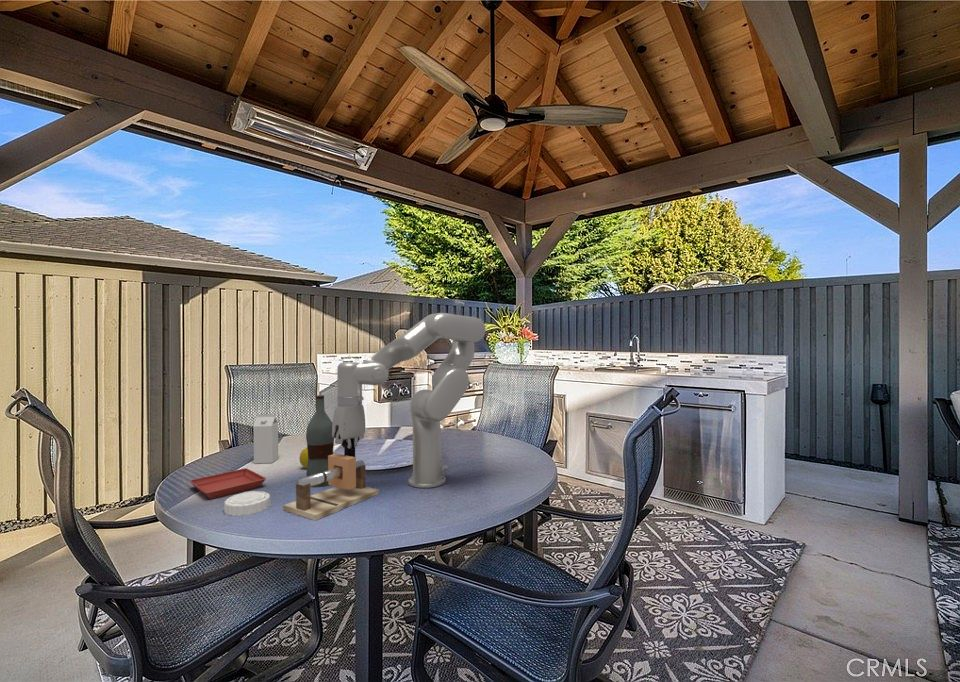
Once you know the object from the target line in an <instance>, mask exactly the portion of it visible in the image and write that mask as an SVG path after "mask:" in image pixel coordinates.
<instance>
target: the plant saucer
mask: <svg viewBox="0 0 960 682" xmlns="http://www.w3.org/2000/svg"><path fill="white" fill-rule="evenodd" d="M266 480H267V478H266V477H265V476H262V475H261V474H259V473H256V472H255V471H253V470H251V469H249V468H241V469H237V470H232V471H226V472H222V473H217V474H213V475H208V476H203V477H200V478H198V477H197V478H195V479H191V480H189V483H190V484H191V485H192V486H194V488H195V489H197V490H198V491H200V492H201V494H203V495H204V496H206V497H207V498H209V499H216V498H221V497H225V496H229V495H234V494H238V493H242V492H246V491H248V490H252V489H257V488H260V486H261V485H262V484H263V483H265V481H266Z"/></svg>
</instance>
